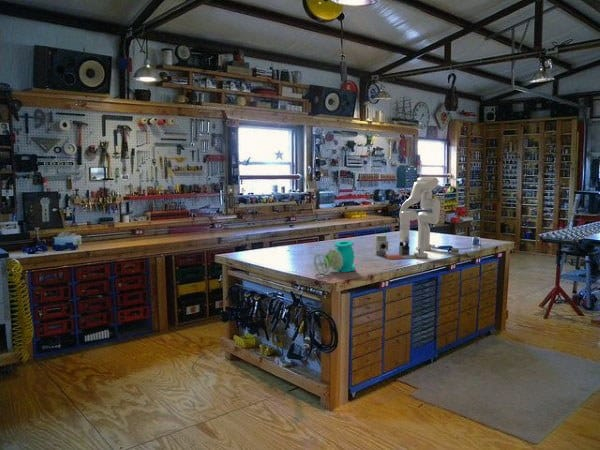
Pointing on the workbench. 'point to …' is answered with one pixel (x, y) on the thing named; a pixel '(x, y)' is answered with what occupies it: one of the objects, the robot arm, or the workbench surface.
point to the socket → (401, 250)
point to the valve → (337, 258)
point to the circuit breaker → (380, 245)
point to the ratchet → (416, 255)
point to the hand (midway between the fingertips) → (403, 249)
